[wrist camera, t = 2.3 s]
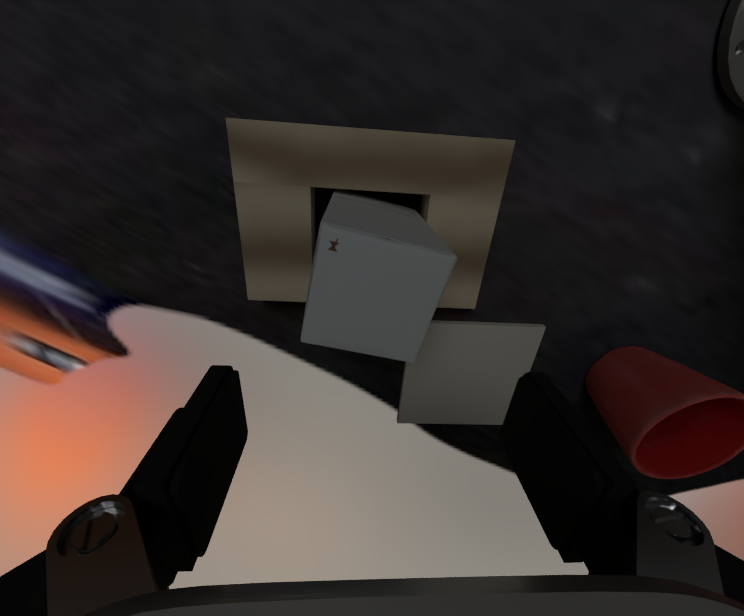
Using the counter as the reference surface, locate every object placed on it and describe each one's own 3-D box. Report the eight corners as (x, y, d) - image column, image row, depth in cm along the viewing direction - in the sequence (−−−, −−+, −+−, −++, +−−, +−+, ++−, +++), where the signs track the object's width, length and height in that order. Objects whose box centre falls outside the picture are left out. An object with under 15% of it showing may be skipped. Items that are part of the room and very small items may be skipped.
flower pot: (573, 344, 35) (645, 410, 26) (677, 324, 34) (785, 386, 26) (566, 413, 40) (624, 488, 31) (656, 397, 39) (741, 469, 30)
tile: (410, 319, 32) (411, 322, 32) (542, 324, 33) (545, 327, 33) (396, 419, 39) (397, 423, 38) (507, 421, 40) (510, 424, 39)
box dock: (240, 120, 24) (225, 117, 21) (498, 140, 25) (515, 140, 23) (257, 285, 30) (248, 299, 27) (464, 294, 31) (474, 308, 29)
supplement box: (317, 267, 30) (293, 343, 18) (335, 185, 26) (319, 216, 15) (393, 285, 31) (414, 367, 19) (419, 209, 27) (462, 254, 16)
